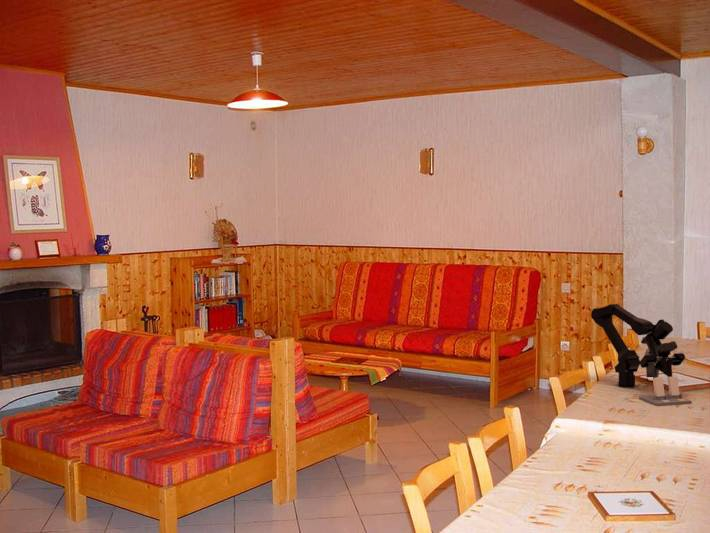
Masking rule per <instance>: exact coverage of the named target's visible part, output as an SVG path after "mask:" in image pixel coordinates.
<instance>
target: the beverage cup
mask: <svg viewBox="0 0 710 533" xmlns="http://www.w3.org/2000/svg"><path fill="white" fill-rule="evenodd" d="M649 351H650V350H649V348H647V349H646V350H645V352H644V355H652V354H649V353H648V352H649ZM648 364H649V365H648V367H646V368H645V370H646V378H647V377H653V378H657V377H659V374H660V373H659V372H660V371H659V370H658V369H656V368H654V366H655V364H654V363H648Z"/></svg>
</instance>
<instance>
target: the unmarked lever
mask: <svg viewBox="0 0 710 533" xmlns="http://www.w3.org/2000/svg"><path fill="white" fill-rule="evenodd" d="M652 383H653V384H652V385H653V391H654V395H656V398H665V394H666V393H665V388H664V379H663V377H662V376H660V377H659V376H658V378H653V382H652Z"/></svg>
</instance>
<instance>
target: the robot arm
mask: <svg viewBox="0 0 710 533" xmlns="http://www.w3.org/2000/svg"><path fill="white" fill-rule="evenodd" d="M613 316H615V317H617V318H618V319H620V320H621V321H622V322H624V323H626V324H627V325H628V326H629V327H630V328H631V330H632V331H633V332H634V334H636V335H638V336H643V337H642V339H641V341H640V343H641V344H642V345H643V344H645V345H646V346H647V347H648V348H649V350H650V351H649V352H648V353H649V354H652V355H645V354H644V355H643V356H642V358H641V359H640V356H639V355H638V353H637V352H636V350H635V349H632V350H631V349H629V347H628V346H627V344H626V343H625V341H624V340H623V338H622V336H621V334H620V333H619V331H618V330H617V328H616V327H615V325H614V323H613ZM590 317H591V319H592V320H593V321H594V323H595V324H596V325H598V326H599V327H600V328H602V330H603V332H604V333H605V336H607V338H608V339H609V342H610V343H611V345H612V346H613V349H614V350H615V351H616V353H617V361H618V363H617V364H616V365H615V366H614V372H615V373H617V374H618V382H617V385H618V387H620V388H622V387H623V388H634V387H635V386H636V375H635V373H637V372H638V369H639V367H641V369H643V368H645V369H646V367H648V365H649V364H648V363H654V364H655V366H654V368H656V369H658V370H659V372H661V373H663V374H664V375H665V376H666V377H673V369H672V368H673V367H672V366H674V367H676V366H677V367H678V366H680V365H681V364H683V362H684V361H685V360H686V355H685V354H684V353H683V352H676V353H675V350H676V349H678V344H677V343H676V341H674V340H673V341H669V342H663V343H662V341H663V340H665V339H666V338H667V337H668V336H669V335H670V334H671V333H672V332H673V331H674V328H673V326H672V325H671V324H670V323H669V322H667V321H666V320H664V319H663V318H662V319H659V320H658V321H657V322H656V323H655V324H653V322H652V321H650V320H648V319H645V318H641V317H638V316H636V315H634V314H632V313H631V312H630V311H628V310H627V309H625V308H623V307H622V306H620V304H618V303H610V304H609V305H608V304H607V305H605V306H602V307H595V308H593V309H592V310H591V313H590ZM644 335H645V336H644ZM661 340H662V341H661ZM648 348H647V349H648ZM671 352H674V353H673V355H672V356H671Z"/></svg>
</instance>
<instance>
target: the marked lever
mask: <svg viewBox="0 0 710 533" xmlns="http://www.w3.org/2000/svg"><path fill="white" fill-rule="evenodd" d="M666 377H667V384H668V391H669V394H671V397H680V394H679V393H680V386H679V380H678V376H677V375H676V376H672V377H668V376H666Z"/></svg>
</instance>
